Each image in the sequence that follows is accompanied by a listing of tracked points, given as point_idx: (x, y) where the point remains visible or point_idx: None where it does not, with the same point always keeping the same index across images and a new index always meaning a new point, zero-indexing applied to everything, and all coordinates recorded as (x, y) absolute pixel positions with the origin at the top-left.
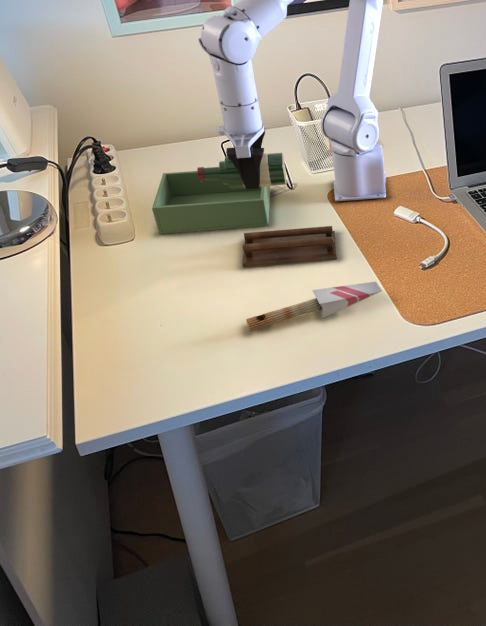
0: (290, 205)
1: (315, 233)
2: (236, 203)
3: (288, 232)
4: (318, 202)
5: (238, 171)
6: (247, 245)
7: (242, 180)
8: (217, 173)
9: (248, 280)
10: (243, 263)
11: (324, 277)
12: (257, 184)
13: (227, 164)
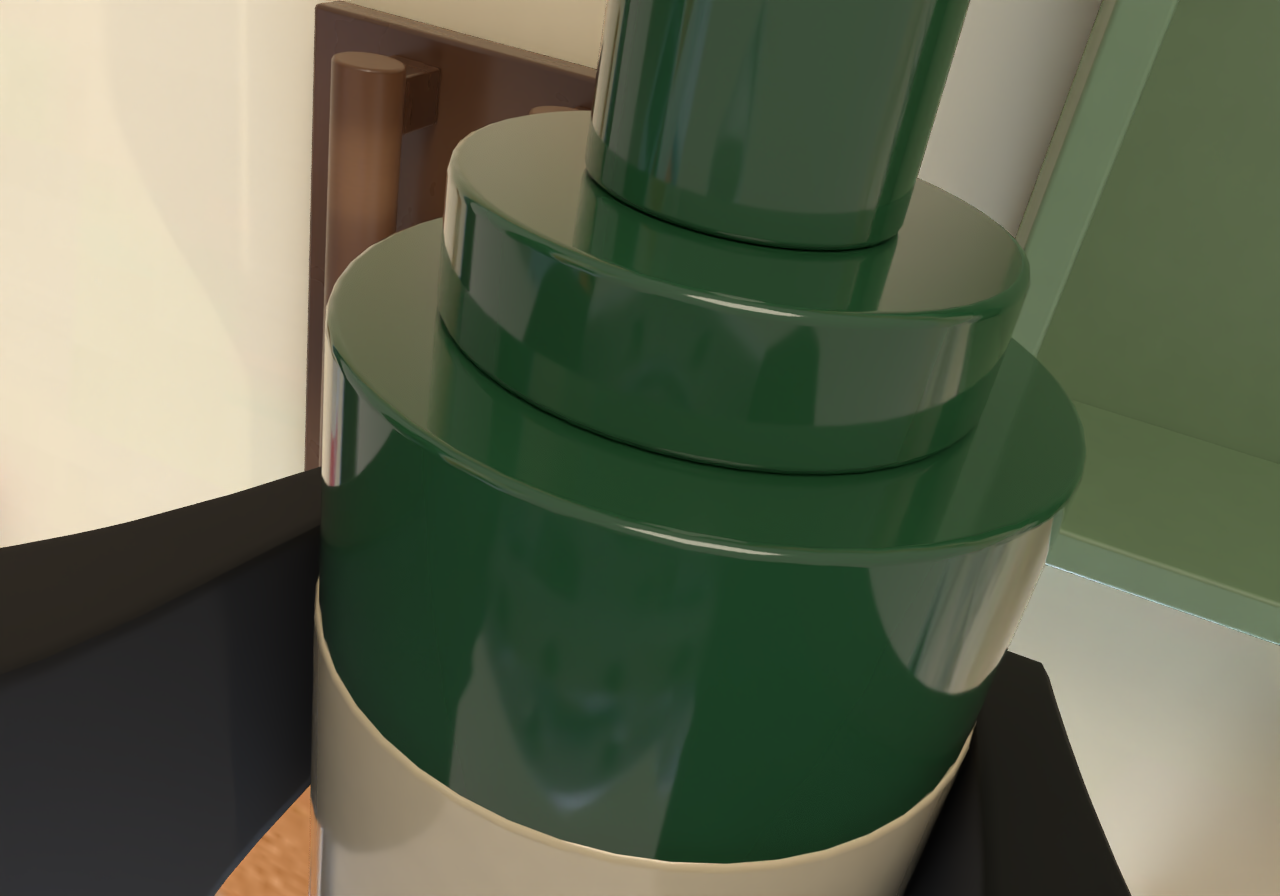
0: (1274, 686)
1: None
2: (1041, 196)
3: None
4: (1174, 879)
5: (68, 537)
6: (334, 109)
7: (289, 479)
8: (594, 97)
9: (177, 9)
10: (317, 14)
11: (158, 482)
12: None
13: (353, 445)
